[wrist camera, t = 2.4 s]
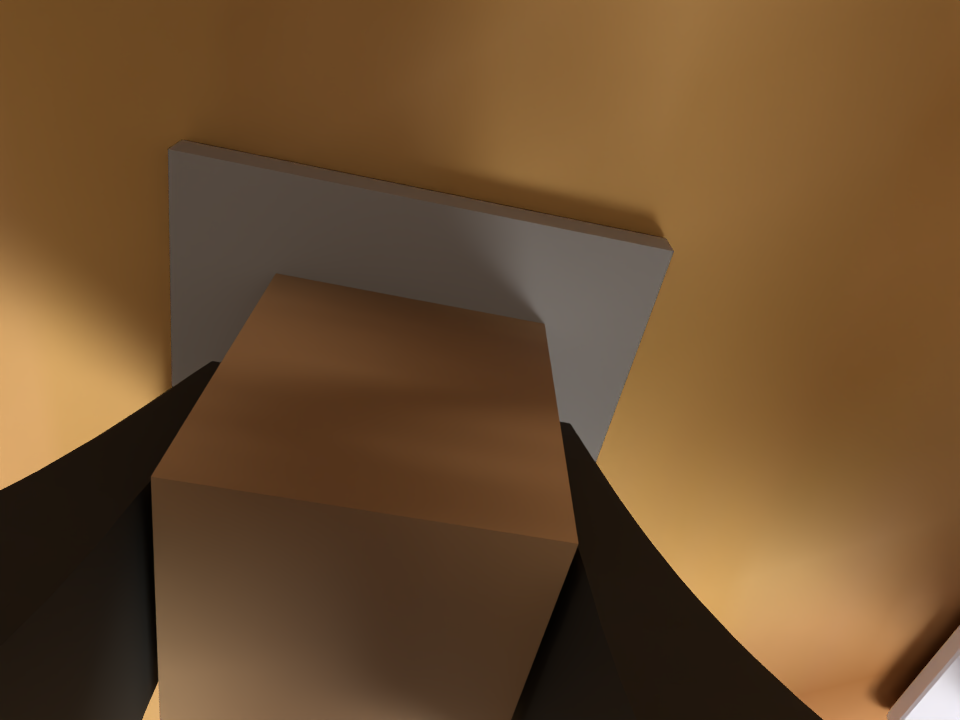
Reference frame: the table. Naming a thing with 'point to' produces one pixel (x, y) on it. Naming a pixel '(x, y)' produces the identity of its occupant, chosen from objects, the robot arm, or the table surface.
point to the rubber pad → (405, 264)
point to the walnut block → (362, 515)
